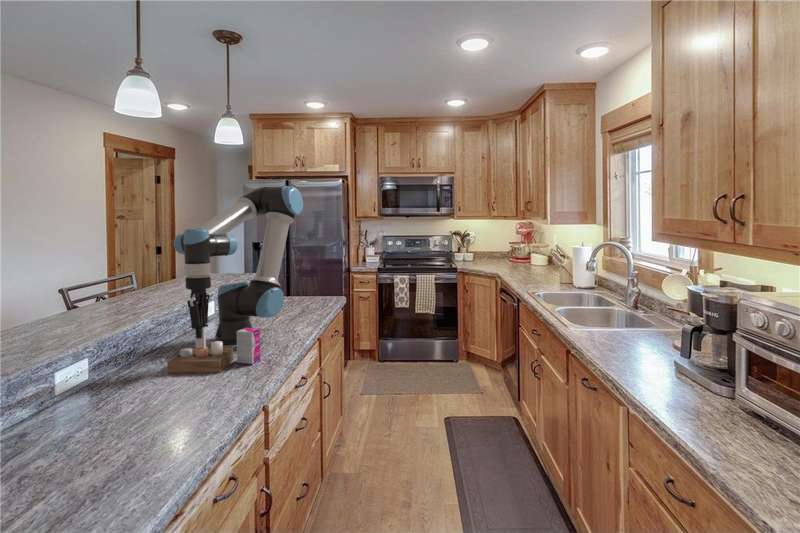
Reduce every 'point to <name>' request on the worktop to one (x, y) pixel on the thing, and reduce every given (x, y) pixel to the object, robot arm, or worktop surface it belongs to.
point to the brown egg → (201, 352)
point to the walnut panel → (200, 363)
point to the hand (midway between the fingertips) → (200, 347)
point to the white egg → (217, 348)
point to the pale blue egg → (186, 352)
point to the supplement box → (248, 346)
